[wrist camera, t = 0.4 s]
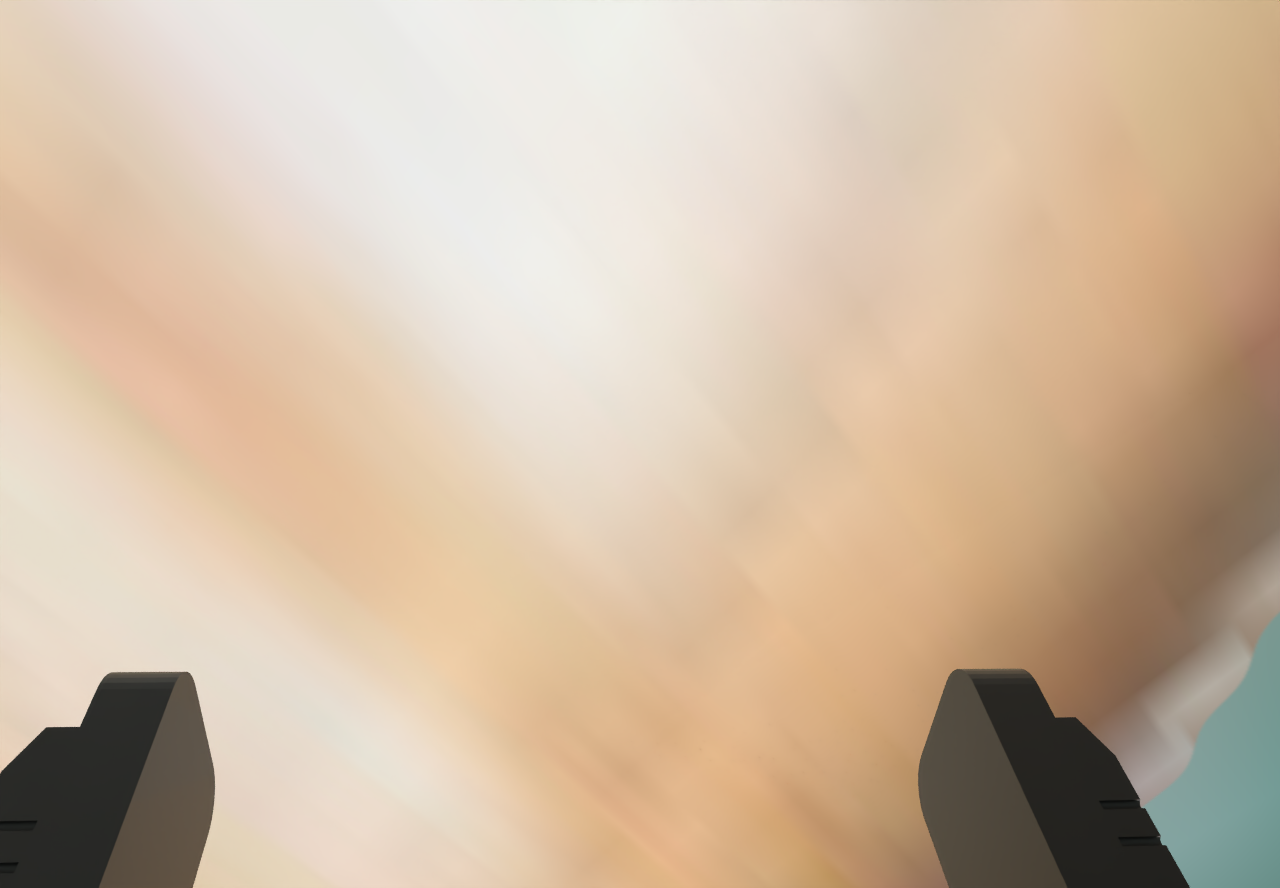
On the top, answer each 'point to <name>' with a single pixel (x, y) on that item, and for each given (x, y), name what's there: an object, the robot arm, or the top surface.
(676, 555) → the top surface
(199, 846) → the robot arm
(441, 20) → the top surface
